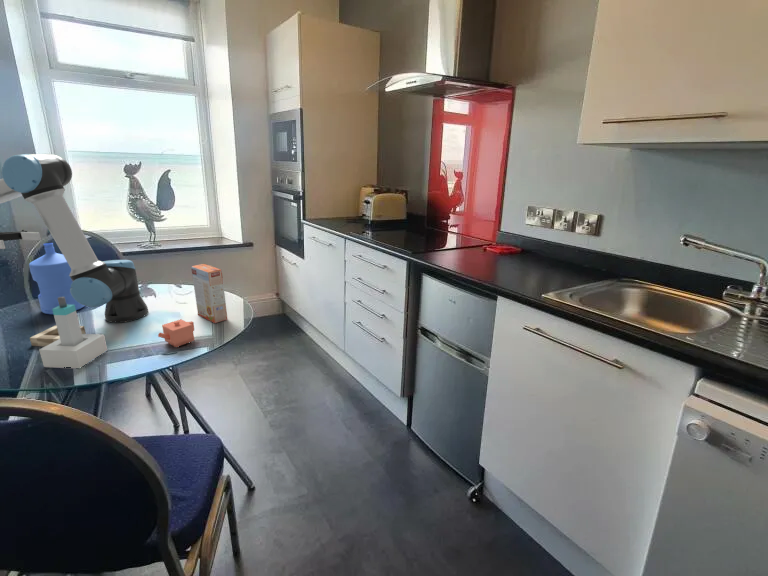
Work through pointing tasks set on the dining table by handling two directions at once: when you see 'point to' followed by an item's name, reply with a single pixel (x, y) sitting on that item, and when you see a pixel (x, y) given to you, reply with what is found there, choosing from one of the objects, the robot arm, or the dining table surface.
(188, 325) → the pink cube teapot
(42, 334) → the beige flat square frame
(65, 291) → the water jug
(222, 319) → the cracker box
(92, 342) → the socket block
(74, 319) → the plug
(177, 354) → the dining table surface
